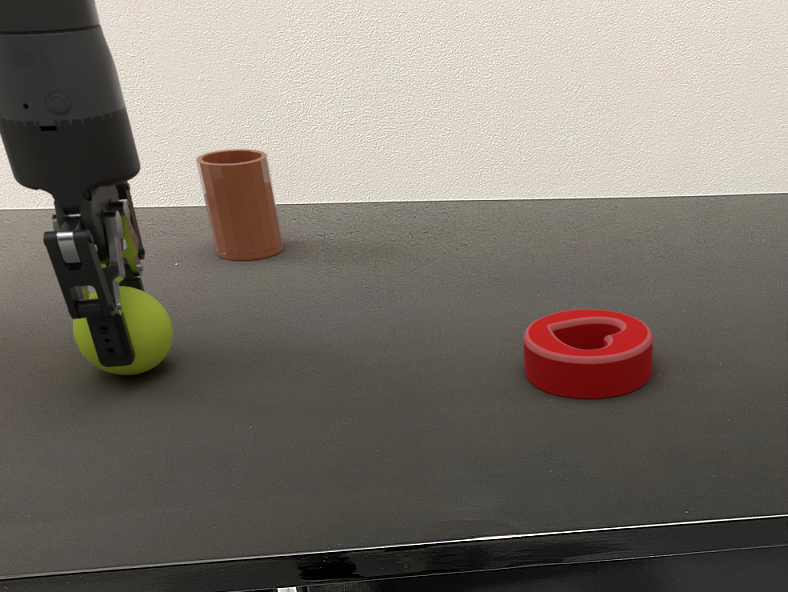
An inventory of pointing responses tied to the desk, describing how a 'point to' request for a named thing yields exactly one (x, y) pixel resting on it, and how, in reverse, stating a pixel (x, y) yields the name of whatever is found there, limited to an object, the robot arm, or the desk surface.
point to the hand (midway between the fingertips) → (128, 344)
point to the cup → (240, 203)
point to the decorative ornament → (588, 353)
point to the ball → (133, 332)
